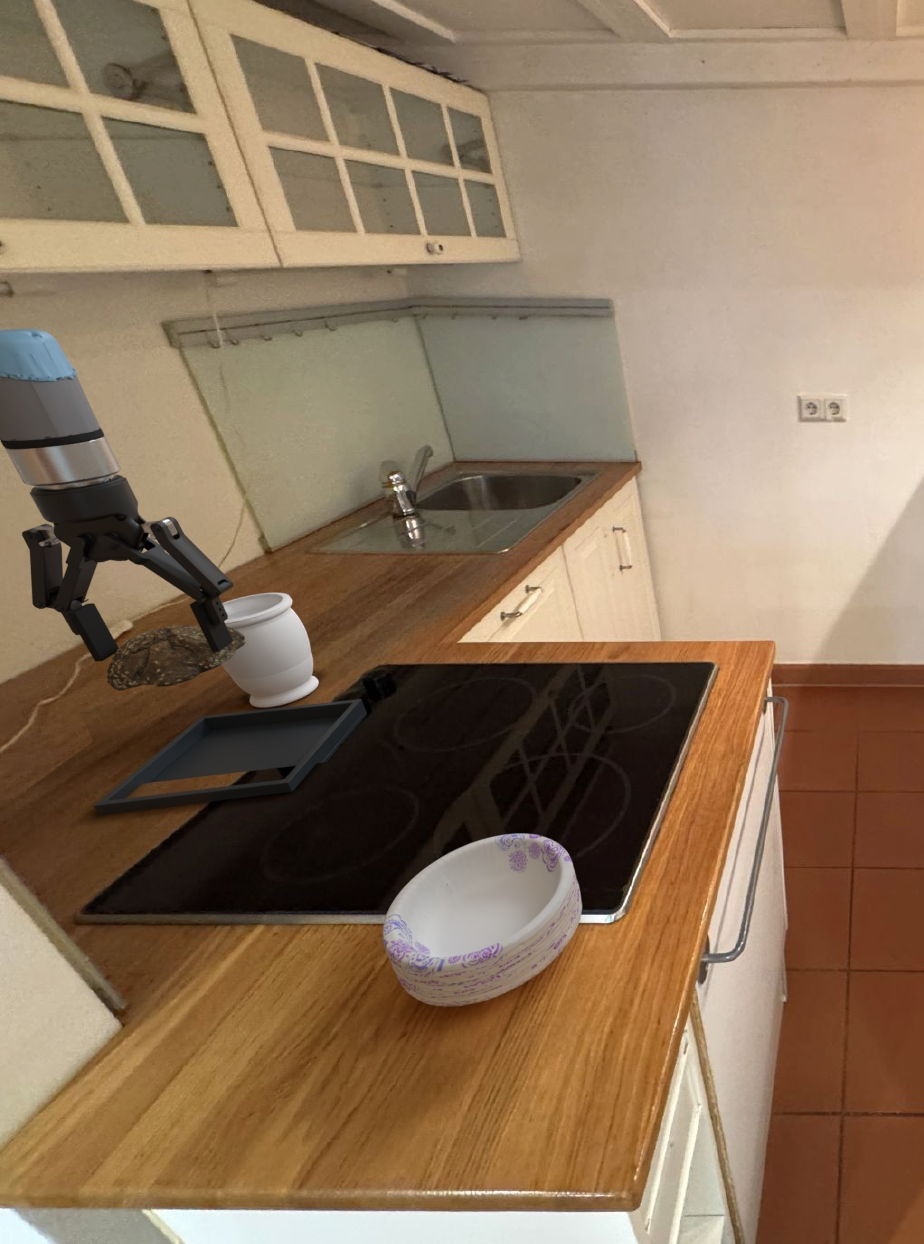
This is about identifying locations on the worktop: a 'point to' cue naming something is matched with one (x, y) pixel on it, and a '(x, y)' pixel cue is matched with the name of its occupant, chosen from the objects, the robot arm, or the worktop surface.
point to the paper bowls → (483, 919)
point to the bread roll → (167, 657)
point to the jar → (270, 650)
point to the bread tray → (240, 753)
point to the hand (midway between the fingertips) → (166, 651)
